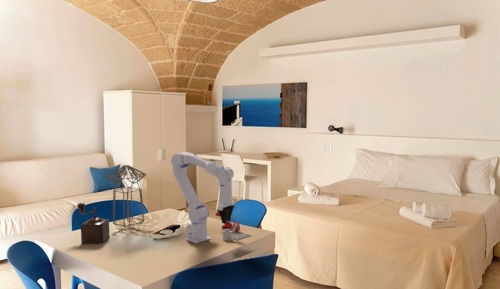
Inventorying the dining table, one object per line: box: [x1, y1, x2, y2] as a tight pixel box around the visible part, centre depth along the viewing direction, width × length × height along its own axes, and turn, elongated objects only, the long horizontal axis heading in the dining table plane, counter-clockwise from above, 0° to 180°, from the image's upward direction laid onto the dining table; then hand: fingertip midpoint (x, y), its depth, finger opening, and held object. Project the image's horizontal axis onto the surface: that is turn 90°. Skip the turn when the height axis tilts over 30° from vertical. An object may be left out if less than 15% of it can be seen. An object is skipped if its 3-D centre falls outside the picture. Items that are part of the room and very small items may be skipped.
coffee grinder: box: [76, 202, 111, 245], centre depth 196 cm, size 16×11×18 cm
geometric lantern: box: [106, 164, 147, 233], centre depth 211 cm, size 16×16×35 cm
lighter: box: [222, 224, 237, 241], centre depth 196 cm, size 7×2×8 cm, turn 86°
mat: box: [232, 231, 252, 241], centre depth 202 cm, size 10×10×1 cm
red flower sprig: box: [215, 211, 241, 232], centre depth 211 cm, size 3×14×10 cm, turn 58°
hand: (226, 222), depth 189 cm, fingers open, 4 cm apart
